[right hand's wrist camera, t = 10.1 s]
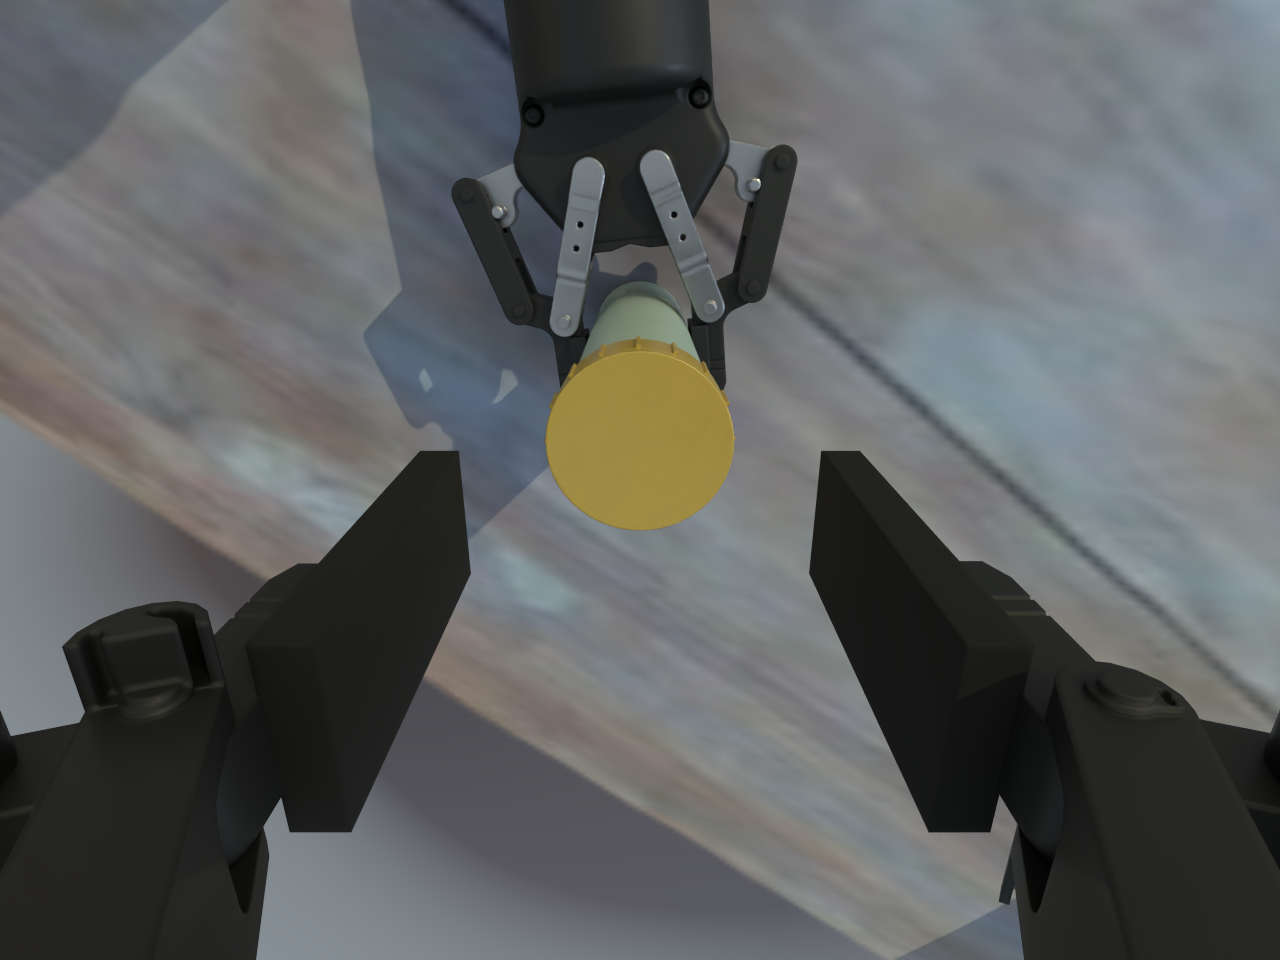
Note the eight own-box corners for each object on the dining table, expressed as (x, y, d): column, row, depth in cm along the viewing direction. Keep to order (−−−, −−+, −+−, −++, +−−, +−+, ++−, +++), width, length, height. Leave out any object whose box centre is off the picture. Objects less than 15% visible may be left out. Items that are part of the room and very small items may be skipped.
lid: (541, 490, 21) (532, 516, 19) (565, 322, 19) (557, 333, 17) (707, 518, 21) (712, 545, 19) (745, 354, 19) (755, 368, 18)
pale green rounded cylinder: (591, 359, 38) (545, 502, 19) (604, 273, 36) (568, 342, 18) (673, 373, 38) (704, 528, 20) (690, 289, 36) (741, 373, 18)
